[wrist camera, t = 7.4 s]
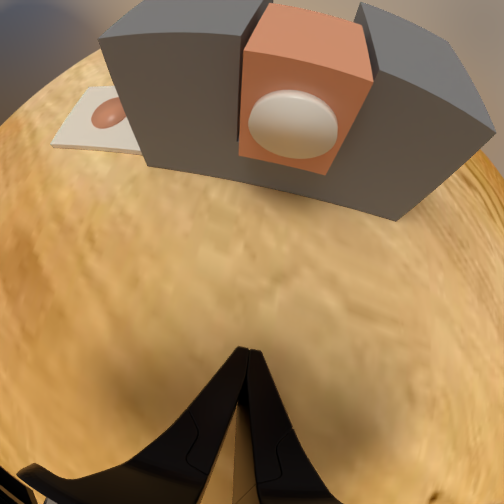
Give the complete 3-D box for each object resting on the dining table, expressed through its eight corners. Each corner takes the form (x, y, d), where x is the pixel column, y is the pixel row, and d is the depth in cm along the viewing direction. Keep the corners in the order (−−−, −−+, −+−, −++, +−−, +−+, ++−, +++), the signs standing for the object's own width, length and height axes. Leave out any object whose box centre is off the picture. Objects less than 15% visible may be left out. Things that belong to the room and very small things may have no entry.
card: (146, 155, 21) (143, 149, 20) (52, 147, 21) (49, 142, 20) (179, 91, 23) (178, 85, 22) (90, 90, 23) (88, 85, 22)
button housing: (396, 221, 20) (496, 133, 9) (147, 165, 20) (97, 38, 9) (390, 131, 23) (447, 41, 12) (188, 85, 23) (177, -22, 12)
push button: (324, 184, 15) (374, 91, 8) (235, 164, 15) (239, 57, 8) (330, 107, 17) (361, 25, 10) (259, 90, 17) (269, 2, 10)
